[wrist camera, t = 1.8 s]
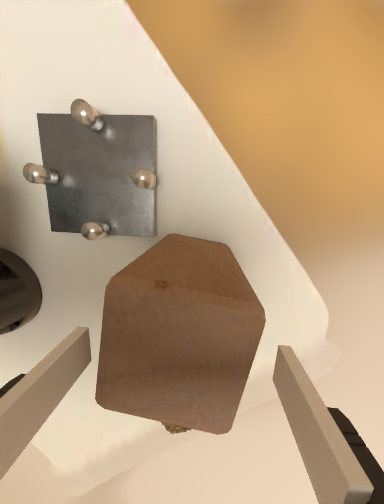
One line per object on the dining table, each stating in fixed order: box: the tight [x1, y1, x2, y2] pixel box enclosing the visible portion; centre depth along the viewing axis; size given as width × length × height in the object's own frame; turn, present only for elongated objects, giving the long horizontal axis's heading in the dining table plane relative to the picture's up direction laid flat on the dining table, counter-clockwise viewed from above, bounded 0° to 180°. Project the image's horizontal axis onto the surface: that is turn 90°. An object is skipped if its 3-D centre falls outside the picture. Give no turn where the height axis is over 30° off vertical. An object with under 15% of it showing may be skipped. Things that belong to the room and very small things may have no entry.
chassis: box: [23, 99, 156, 240], centre depth 27 cm, size 17×17×4 cm
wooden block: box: [95, 234, 266, 435], centre depth 22 cm, size 10×10×20 cm
